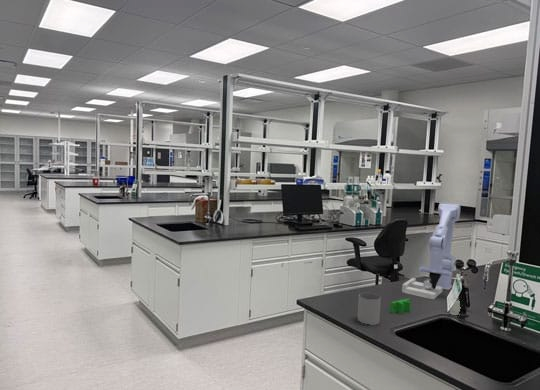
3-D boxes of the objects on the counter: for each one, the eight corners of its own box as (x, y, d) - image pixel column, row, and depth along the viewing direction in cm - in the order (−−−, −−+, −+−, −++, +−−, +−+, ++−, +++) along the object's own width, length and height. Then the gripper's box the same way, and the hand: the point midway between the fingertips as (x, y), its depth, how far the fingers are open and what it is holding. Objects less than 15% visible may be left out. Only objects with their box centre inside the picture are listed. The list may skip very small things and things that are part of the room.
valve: (461, 318, 156) (469, 311, 165) (462, 303, 155) (470, 296, 164) (444, 314, 160) (453, 307, 169) (445, 298, 160) (454, 292, 169)
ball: (426, 288, 189) (423, 278, 189) (436, 287, 186) (433, 277, 186) (423, 291, 185) (420, 281, 185) (434, 290, 182) (431, 280, 182)
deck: (412, 285, 200) (412, 277, 199) (442, 291, 191) (442, 284, 190) (401, 292, 187) (402, 284, 187) (433, 299, 178) (434, 291, 178)
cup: (375, 326, 144) (377, 301, 143) (354, 321, 148) (356, 296, 147) (381, 319, 151) (383, 295, 150) (361, 315, 155) (363, 291, 154)
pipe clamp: (397, 315, 156) (397, 305, 156) (390, 312, 160) (390, 302, 159) (414, 311, 162) (415, 300, 162) (407, 308, 166) (407, 298, 165)
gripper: (418, 259, 184) (416, 286, 185) (450, 264, 176) (448, 293, 176) (422, 257, 190) (420, 284, 191) (453, 262, 181) (451, 290, 182)
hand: (434, 288), depth 184 cm, fingers closed, pressing on ball
